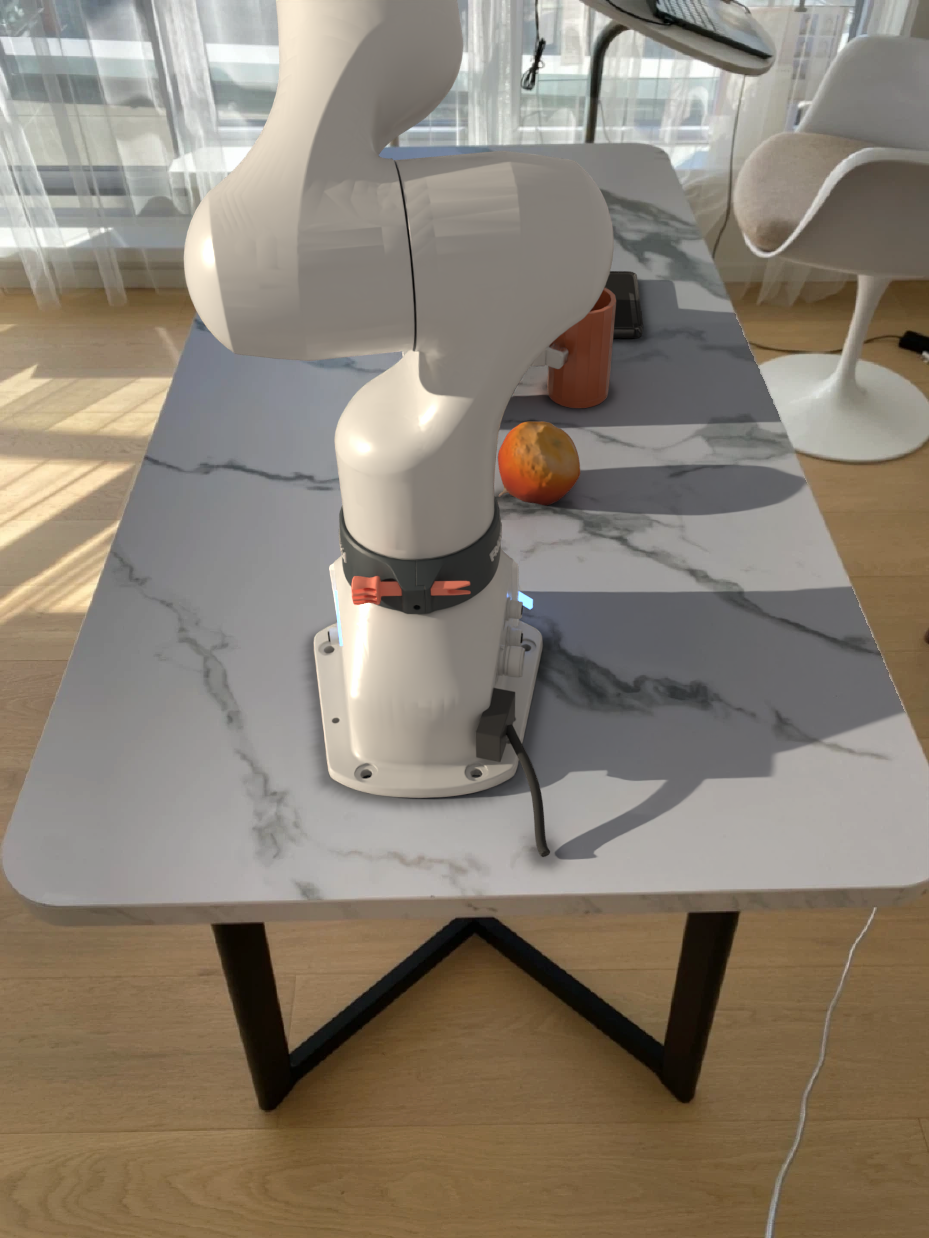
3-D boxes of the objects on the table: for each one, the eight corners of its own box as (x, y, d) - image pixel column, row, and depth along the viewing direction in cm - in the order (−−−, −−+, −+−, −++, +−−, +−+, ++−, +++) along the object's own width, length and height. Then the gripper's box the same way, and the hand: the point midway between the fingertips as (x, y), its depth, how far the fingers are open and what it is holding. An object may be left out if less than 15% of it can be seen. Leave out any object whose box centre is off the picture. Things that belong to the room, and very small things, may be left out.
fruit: (493, 446, 105) (535, 393, 99) (557, 491, 106) (602, 442, 100) (467, 492, 99) (509, 439, 94) (534, 540, 100) (580, 490, 95)
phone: (576, 329, 122) (574, 270, 133) (575, 337, 123) (574, 279, 134) (644, 329, 122) (637, 271, 132) (643, 338, 122) (636, 279, 133)
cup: (610, 408, 112) (618, 313, 104) (548, 409, 112) (552, 314, 105) (605, 375, 117) (612, 282, 109) (545, 376, 117) (549, 283, 109)
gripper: (420, 318, 107) (536, 355, 101) (527, 245, 119) (635, 274, 113) (423, 373, 111) (534, 411, 106) (526, 297, 123) (630, 327, 118)
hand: (587, 340), depth 109 cm, fingers open, 8 cm apart
